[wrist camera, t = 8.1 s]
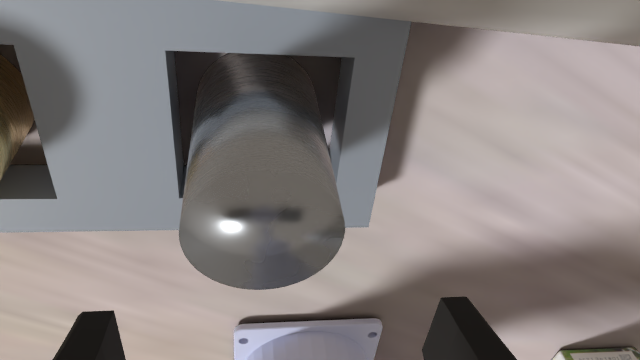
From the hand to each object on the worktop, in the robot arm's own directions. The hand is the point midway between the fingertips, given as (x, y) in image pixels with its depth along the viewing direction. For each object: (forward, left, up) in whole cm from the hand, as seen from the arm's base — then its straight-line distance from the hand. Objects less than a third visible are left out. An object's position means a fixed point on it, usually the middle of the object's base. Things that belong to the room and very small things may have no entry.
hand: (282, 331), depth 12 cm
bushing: (0, 0, -10) cm, 10 cm away
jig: (0, +5, -10) cm, 11 cm away
